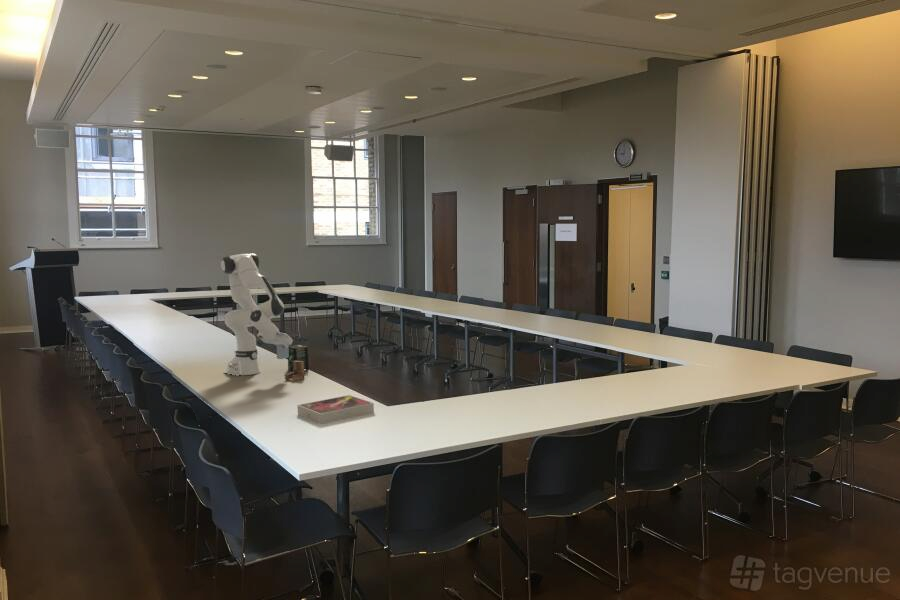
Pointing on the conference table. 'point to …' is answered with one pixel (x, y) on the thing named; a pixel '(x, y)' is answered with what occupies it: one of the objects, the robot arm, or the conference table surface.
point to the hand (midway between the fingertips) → (283, 346)
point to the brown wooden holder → (296, 371)
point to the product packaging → (335, 409)
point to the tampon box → (298, 356)
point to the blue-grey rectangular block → (282, 352)
